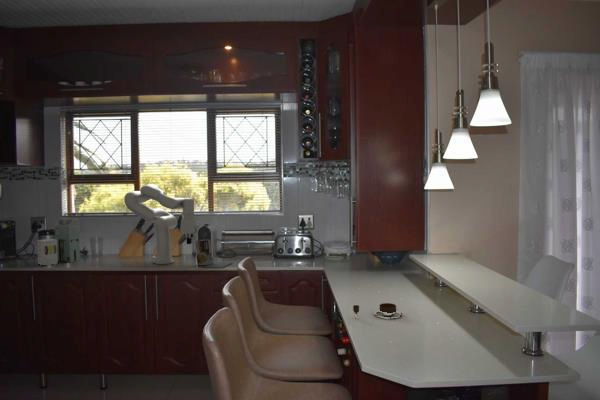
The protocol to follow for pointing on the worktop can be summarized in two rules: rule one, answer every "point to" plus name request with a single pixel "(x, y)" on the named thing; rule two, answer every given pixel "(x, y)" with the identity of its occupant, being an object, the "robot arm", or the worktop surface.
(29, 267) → the worktop surface
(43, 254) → the supplement box
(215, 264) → the mat
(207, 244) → the coffee box
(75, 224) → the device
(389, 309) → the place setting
